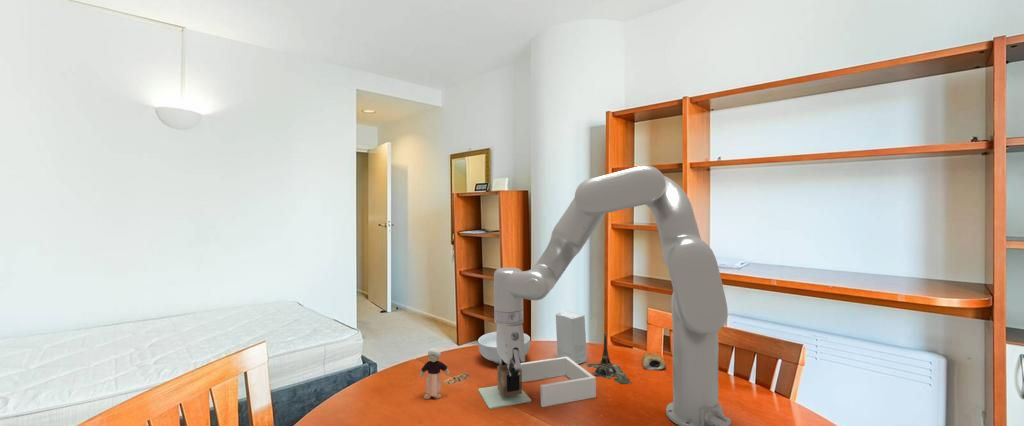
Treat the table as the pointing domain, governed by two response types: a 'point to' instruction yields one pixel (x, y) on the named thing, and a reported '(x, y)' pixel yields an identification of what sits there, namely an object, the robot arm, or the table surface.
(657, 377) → the table surface
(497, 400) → the sage mat
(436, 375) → the grandmother figurine
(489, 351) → the cereal bowl
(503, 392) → the walnut block
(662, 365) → the pastry
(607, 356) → the eiffel tower figurine
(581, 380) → the open side box
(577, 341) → the skincare box
